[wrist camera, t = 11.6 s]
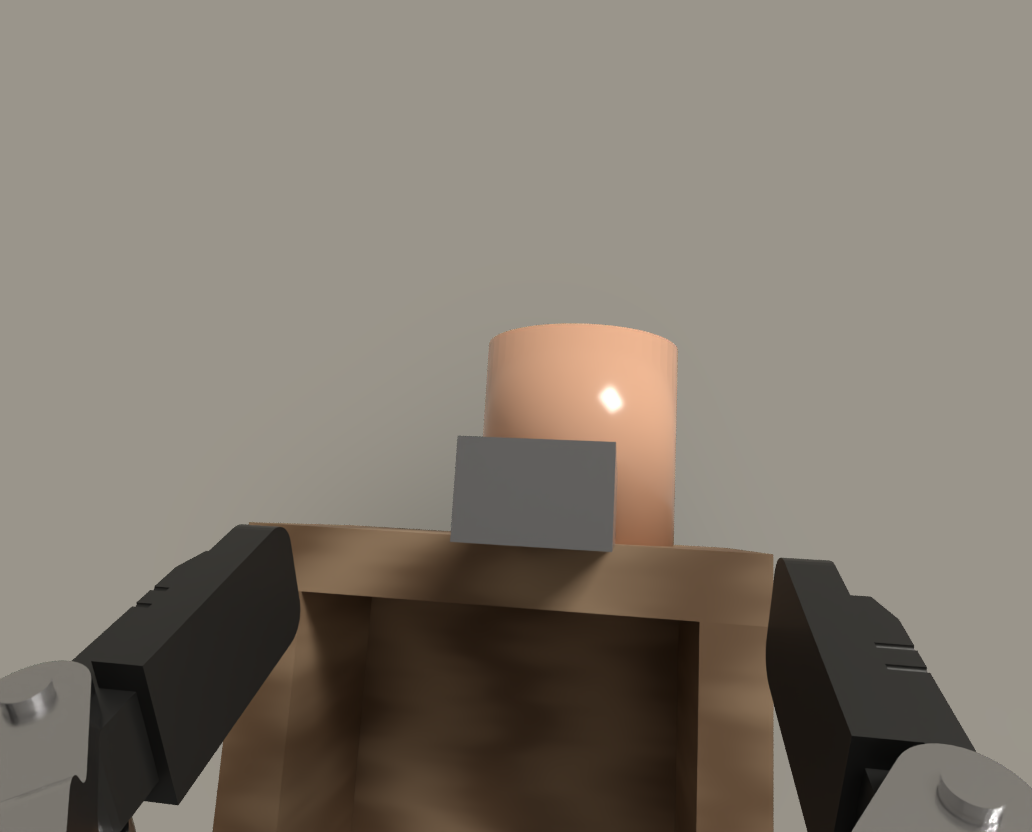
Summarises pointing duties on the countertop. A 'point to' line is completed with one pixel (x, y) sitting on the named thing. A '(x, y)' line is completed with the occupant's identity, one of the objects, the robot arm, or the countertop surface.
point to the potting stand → (509, 691)
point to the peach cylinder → (572, 442)
